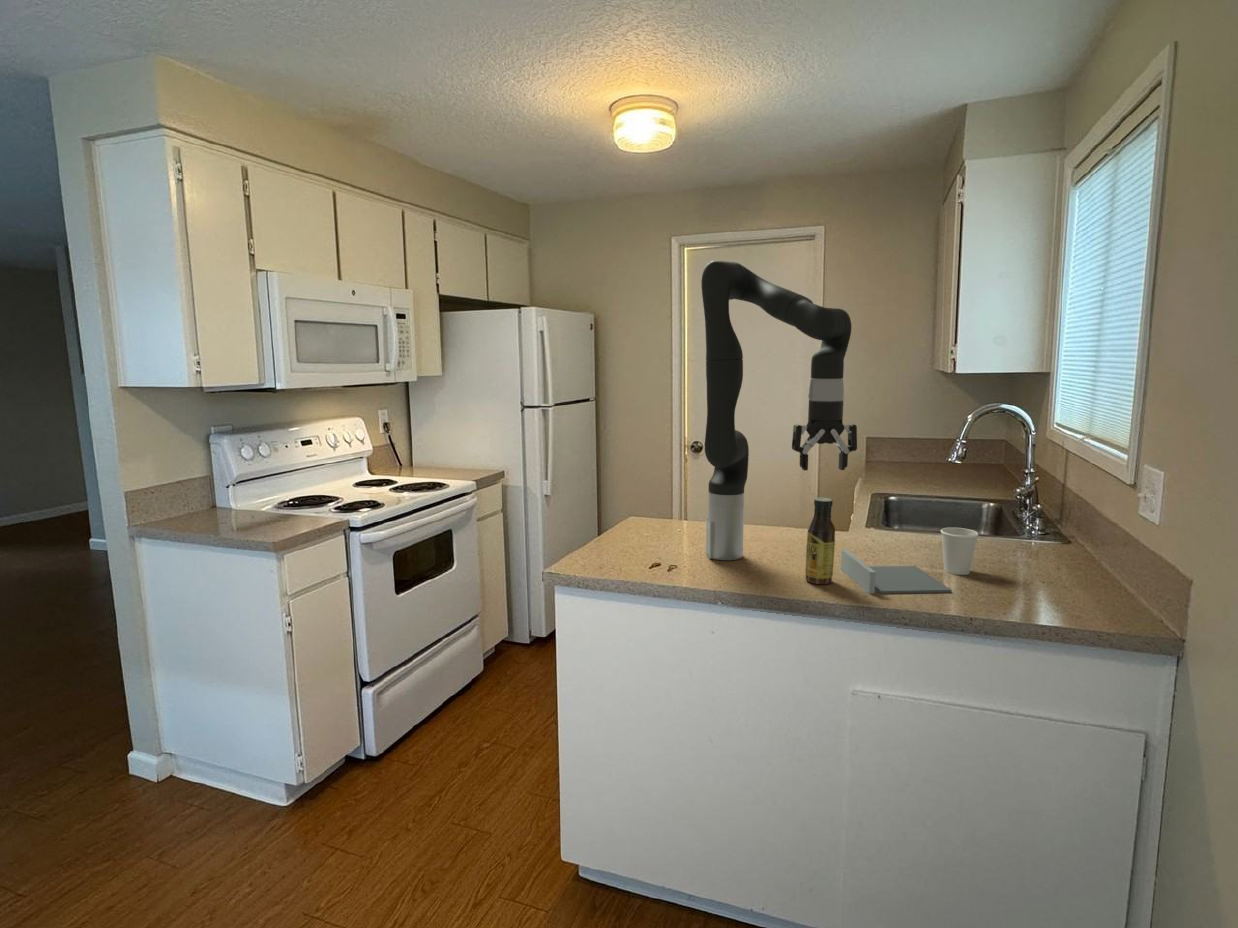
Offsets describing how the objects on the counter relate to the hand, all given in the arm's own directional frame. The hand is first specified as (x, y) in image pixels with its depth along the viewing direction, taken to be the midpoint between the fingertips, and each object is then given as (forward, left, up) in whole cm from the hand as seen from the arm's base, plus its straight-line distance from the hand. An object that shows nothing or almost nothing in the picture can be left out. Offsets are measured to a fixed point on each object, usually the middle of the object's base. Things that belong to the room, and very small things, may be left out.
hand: (823, 469), depth 162 cm
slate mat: (+19, 0, -27) cm, 33 cm away
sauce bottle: (0, 0, -27) cm, 27 cm away
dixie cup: (+36, +6, -27) cm, 45 cm away
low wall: (+9, 0, -27) cm, 28 cm away
